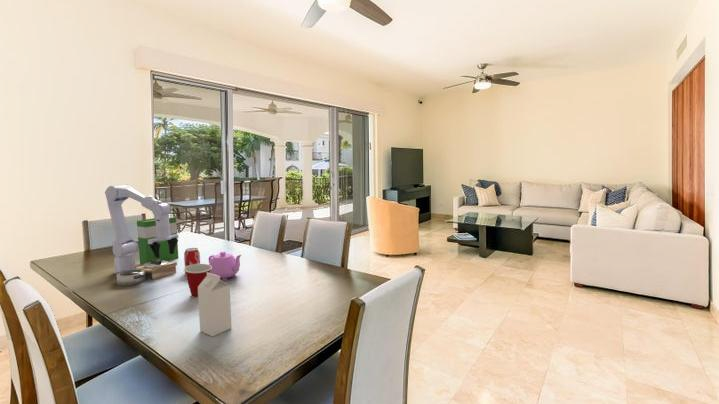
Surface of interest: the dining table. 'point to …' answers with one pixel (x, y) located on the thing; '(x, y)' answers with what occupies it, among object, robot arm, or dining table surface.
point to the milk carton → (214, 305)
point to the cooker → (130, 277)
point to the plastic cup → (196, 276)
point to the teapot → (224, 265)
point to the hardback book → (149, 232)
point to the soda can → (191, 256)
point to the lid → (155, 264)
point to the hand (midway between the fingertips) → (164, 255)
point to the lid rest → (159, 270)
